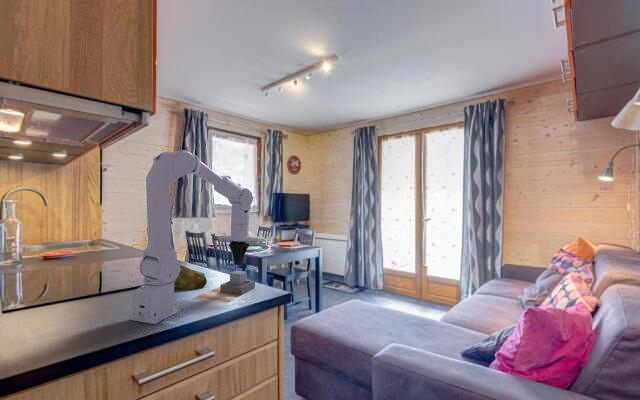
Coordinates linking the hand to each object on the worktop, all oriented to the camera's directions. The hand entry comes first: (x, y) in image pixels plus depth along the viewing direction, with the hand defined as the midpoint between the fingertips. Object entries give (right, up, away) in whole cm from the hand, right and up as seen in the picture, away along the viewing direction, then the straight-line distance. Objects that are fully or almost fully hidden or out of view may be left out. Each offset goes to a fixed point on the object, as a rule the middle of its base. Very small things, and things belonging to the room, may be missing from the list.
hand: (238, 264), depth 107 cm
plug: (0, -9, 0) cm, 9 cm away
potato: (-19, -9, +2) cm, 21 cm away
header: (0, -9, 0) cm, 9 cm away
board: (-3, -9, -3) cm, 10 cm away
